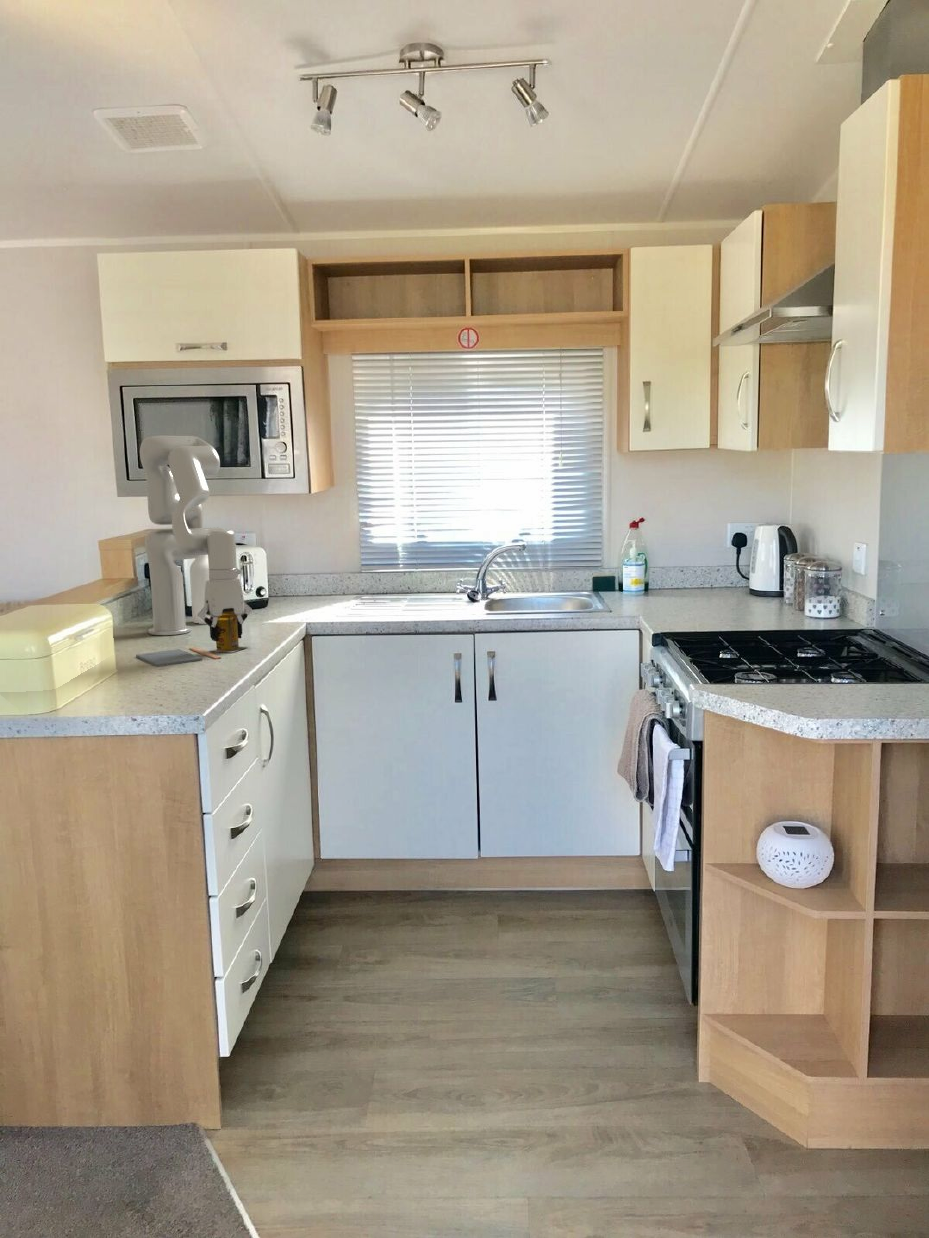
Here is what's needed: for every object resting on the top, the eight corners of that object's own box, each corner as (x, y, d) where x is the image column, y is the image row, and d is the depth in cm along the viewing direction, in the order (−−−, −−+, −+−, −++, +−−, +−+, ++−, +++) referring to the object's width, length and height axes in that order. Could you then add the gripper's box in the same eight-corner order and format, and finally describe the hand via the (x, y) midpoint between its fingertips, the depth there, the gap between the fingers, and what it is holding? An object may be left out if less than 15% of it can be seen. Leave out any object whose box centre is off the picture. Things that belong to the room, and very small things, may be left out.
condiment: (209, 651, 265) (207, 608, 263) (229, 645, 272) (227, 604, 270) (230, 653, 261) (228, 610, 259) (250, 647, 269) (248, 605, 267)
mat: (136, 656, 258) (136, 654, 258) (179, 651, 265) (179, 649, 265) (157, 666, 246) (157, 664, 245) (202, 660, 253) (201, 658, 253)
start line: (189, 649, 268) (189, 647, 268) (194, 648, 269) (194, 647, 269) (215, 659, 254) (215, 657, 254) (220, 658, 255) (220, 656, 255)
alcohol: (210, 625, 307) (205, 531, 302) (187, 623, 310) (181, 531, 305) (226, 620, 315) (221, 529, 310) (203, 619, 318) (197, 529, 313)
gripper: (246, 571, 271) (249, 633, 274) (187, 576, 261) (191, 641, 264) (258, 573, 265) (261, 637, 268) (198, 578, 255) (202, 645, 258)
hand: (226, 638), depth 266 cm, fingers closed on condiment, 6 cm apart
